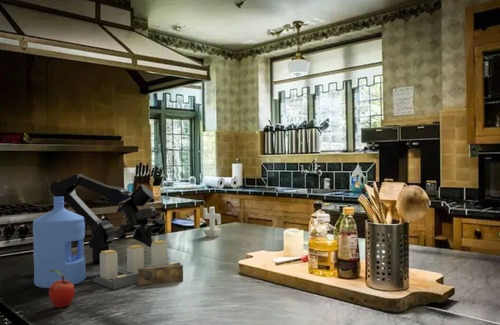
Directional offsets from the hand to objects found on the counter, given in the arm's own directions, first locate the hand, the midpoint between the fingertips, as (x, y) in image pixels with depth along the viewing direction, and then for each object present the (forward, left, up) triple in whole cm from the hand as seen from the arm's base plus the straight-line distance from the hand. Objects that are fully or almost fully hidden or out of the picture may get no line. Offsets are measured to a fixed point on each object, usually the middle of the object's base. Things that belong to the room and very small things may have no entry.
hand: (151, 246), depth 156 cm
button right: (+3, -4, -6) cm, 8 cm away
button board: (-4, -12, -8) cm, 15 cm away
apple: (-24, -36, -8) cm, 44 cm away
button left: (-14, -16, -6) cm, 22 cm away
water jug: (-29, -10, -8) cm, 32 cm away
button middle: (-5, -10, -6) cm, 13 cm away
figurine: (+31, +56, -8) cm, 64 cm away
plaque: (+3, -21, -8) cm, 23 cm away
